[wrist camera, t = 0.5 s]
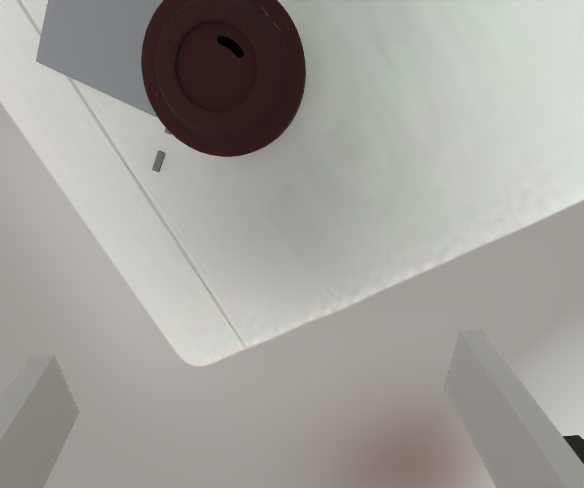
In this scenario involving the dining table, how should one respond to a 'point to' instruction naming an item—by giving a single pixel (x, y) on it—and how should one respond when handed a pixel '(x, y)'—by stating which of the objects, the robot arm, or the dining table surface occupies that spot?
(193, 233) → the dining table surface
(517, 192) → the dining table surface
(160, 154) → the perforation line
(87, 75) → the mat
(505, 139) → the dining table surface
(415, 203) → the dining table surface
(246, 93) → the coffee cup
